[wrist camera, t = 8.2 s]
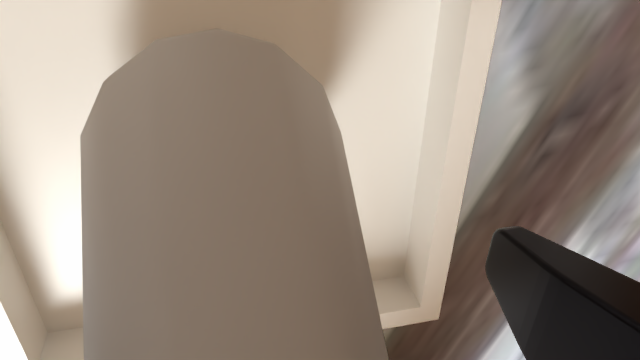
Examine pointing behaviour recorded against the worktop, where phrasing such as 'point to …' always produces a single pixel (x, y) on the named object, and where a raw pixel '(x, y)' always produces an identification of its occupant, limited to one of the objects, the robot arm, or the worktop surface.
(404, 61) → the tray
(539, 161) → the worktop surface
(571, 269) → the robot arm
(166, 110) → the salt shaker
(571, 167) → the worktop surface
